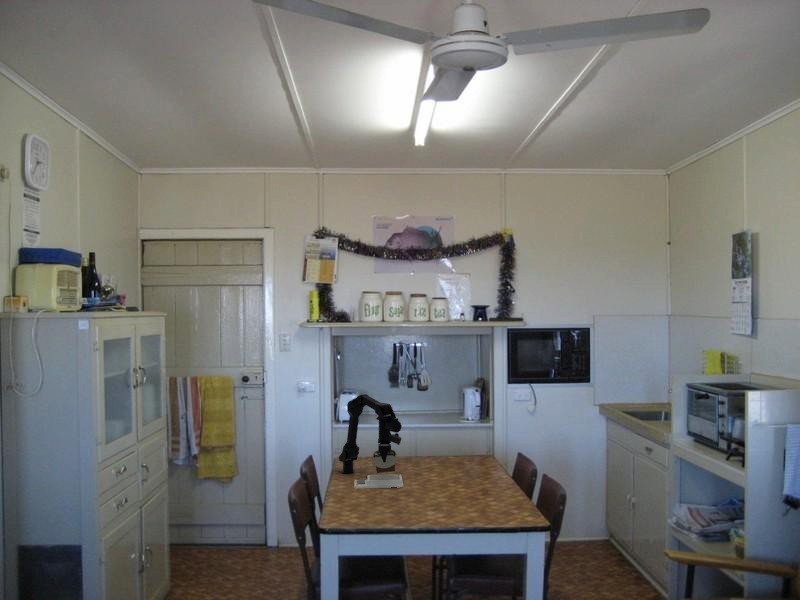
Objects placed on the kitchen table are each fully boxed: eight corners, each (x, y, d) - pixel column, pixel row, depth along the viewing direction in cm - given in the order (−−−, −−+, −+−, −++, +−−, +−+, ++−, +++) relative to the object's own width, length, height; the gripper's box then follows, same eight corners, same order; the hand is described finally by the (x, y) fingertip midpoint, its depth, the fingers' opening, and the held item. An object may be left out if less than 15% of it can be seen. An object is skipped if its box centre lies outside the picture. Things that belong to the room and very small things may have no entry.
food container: (397, 466, 326) (396, 447, 324) (398, 471, 320) (396, 452, 318) (373, 468, 325) (371, 449, 323) (373, 473, 319) (371, 454, 317)
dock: (354, 481, 326) (354, 475, 326) (402, 481, 327) (402, 474, 327) (354, 488, 314) (354, 481, 314) (403, 487, 315) (403, 480, 315)
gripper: (401, 433, 312) (401, 465, 312) (399, 426, 331) (399, 456, 331) (378, 433, 312) (378, 465, 311) (377, 426, 330) (377, 456, 330)
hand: (384, 460), depth 321 cm, fingers closed on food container, 6 cm apart
